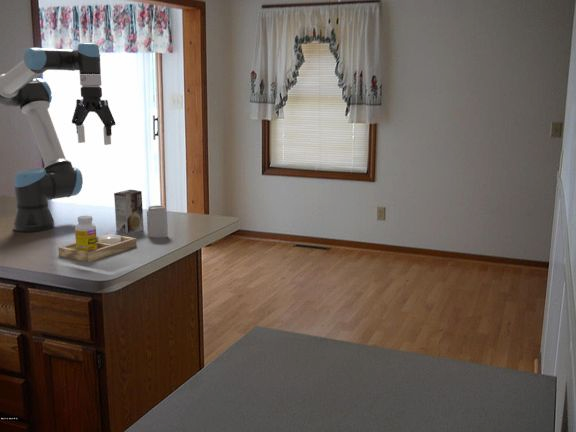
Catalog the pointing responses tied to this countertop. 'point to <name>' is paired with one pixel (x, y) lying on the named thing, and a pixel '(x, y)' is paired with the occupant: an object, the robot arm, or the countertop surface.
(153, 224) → the can
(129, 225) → the coffee box
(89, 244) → the supplement bottle
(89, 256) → the rack
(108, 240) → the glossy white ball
